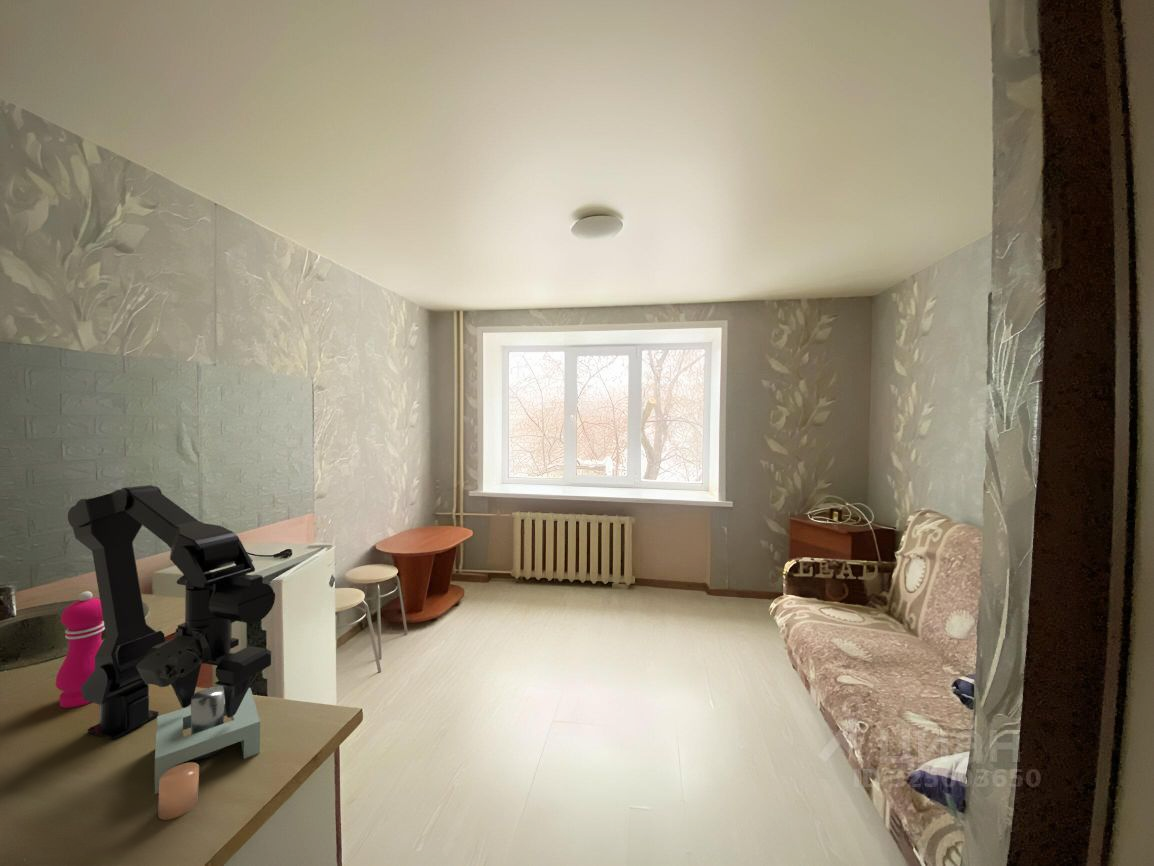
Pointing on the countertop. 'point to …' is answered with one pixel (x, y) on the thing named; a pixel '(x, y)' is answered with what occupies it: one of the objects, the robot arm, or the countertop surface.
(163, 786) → the terracotta stub
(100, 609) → the pepper mill
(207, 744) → the slate pin jig
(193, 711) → the steel pin
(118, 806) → the countertop surface
